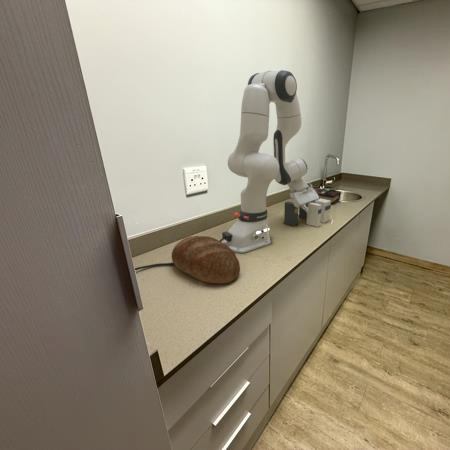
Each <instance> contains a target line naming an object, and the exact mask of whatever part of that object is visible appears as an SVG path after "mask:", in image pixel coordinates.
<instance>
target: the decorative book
mask: <svg viewBox="0 0 450 450" xmlns="http://www.w3.org/2000/svg"><path fill="white" fill-rule="evenodd" d="M311 188H313V189H314V190H315V191H316V193H317V194H318V196H319V199H325V200H330V201H331V206H334V205H335V204H336V203H339V202H340V201H341V199H342V197H341V194H342V191H340V190H337V189H325V188H319V187H314V186H312V187H311Z"/></svg>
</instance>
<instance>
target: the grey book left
mask: <svg viewBox="0 0 450 450" xmlns="http://www.w3.org/2000/svg"><path fill="white" fill-rule="evenodd" d="M283 215H284V218H283V224H285V225H289V226H292V227H296V226H298V223H299V207H298V208H297V207H295V206H294V204H293V202H292V201H285V202H284V213H283Z"/></svg>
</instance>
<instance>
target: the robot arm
mask: <svg viewBox="0 0 450 450" xmlns="http://www.w3.org/2000/svg"><path fill="white" fill-rule="evenodd" d="M297 89H298V83H297V79H296V78H295V75H294V74H293V73H292V72H291V71H289V70H283V69H281V70H265V71H262V72H257V73H255V74H254V73H253V74H252V75H251V76H250V77H249V78H248V81H247V85H246V86H245V88H244V90H243V95H242V100H241V107H240V108H241V109H240V128H239V136H238V139H237V143H236V146H235V148H234V150H233V151H232V152H231V153H230V154H229V156H228V159H227V168H228V169H229V171H230V172H231V173H233V174H235V175H236V176H239V177H242V178H247V184H246V186H245V188H243V189H242V190H241V191H240V210H239V212H237V211H235V212H234V213H233V217H235V218H237V220H236V221H235V222H234V224H233V225H232V226H231V227H230V228H229V229H228V230H227V231H222V232H221V234H222V237H221V239H220V240H219V241H220V242H222V243H224V244H226V245H227V246H228V247H229V248H230V249H231V250H232V251H233V252H234V253H238V254H244V253H247V252H251V251H253V250H257V249H260V248H263V247H265V246H268V245H271V243H272V241H271V237H270V232H269V231H270V228H269V225H268V220H267V219H268V209H267V195H268V190H269V187H270V185H271V183H272V182H273V181H274V180H275V182H276V183H277V184H279V185H281V186H286V185H287V186H288V188H289V189H288V190H289V197H290V200H291V202H293V204H294V206H295V207H297V208H299V207H301V208H302V209H304V210H305V211H306V212H307V213H308V212H310V209H309V208H307V207H306V205H307V204H308V203H310V202H312V203H317V201H316V200H318V199H319V196H318V194H317V193H316V191H315V190H314V189H313V188H314V187H313V184H312V183H309V182H306V181H304V179H303V178H302V177H304V176H306V174H307V173H308V169H309V168H308V164H307V163H306V161H305V160H304V159H303V158H301V157H298V158H294V159H291V160H289V161H286V147H287V144H288V143H289V142H290V140H291V139H292V138H293V137H295V136H296V135H297V134H298V133H299V131H300V130H301V127H302V114H301V112H302V111H301V107H300V101H299V98H298V94H297ZM271 103H274V104H275V114H276V120H277V123H276V129H275V131H274V133H273V138H272V139H273V140H272V141H273V143H272V144H273V155H271V154H268V153H266V152H259V151H260V148H261V146H262V144H263V143H264V142H265V141H267V140H268V137H269V128H270V127H269V126H270V104H271ZM311 187H313V188H311ZM317 204H318V203H317ZM157 266H158V267H159V266H175V265H174V263H173V262H166V263H165V262H164V263H160V262H159V263H153V264H147V265H143V266H138V267H135V268H134V269H135V270H136V271H138V270H141V269H146V268H147V269H148V268H152V267H157Z"/></svg>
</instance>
